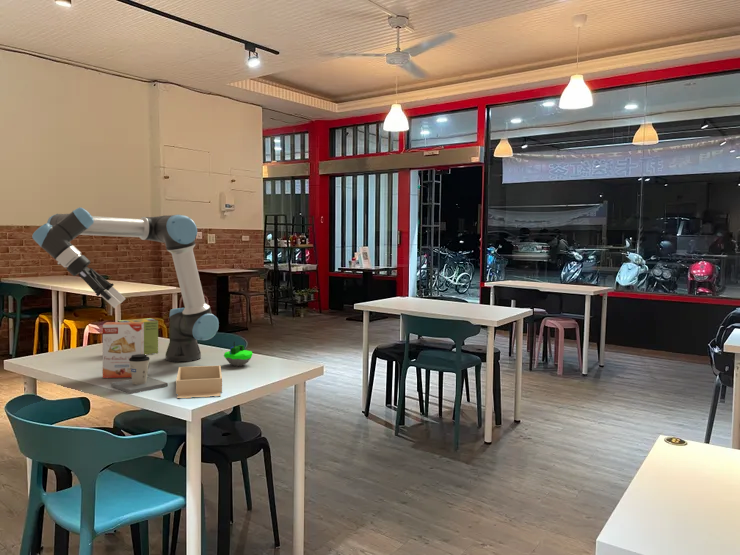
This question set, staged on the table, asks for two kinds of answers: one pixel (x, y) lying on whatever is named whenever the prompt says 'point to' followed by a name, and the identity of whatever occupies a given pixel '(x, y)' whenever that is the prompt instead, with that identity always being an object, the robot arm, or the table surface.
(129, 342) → the cracker box
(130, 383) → the slate board
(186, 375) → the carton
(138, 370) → the coffee cup
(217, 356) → the table surface
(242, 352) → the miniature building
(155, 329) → the protein box
